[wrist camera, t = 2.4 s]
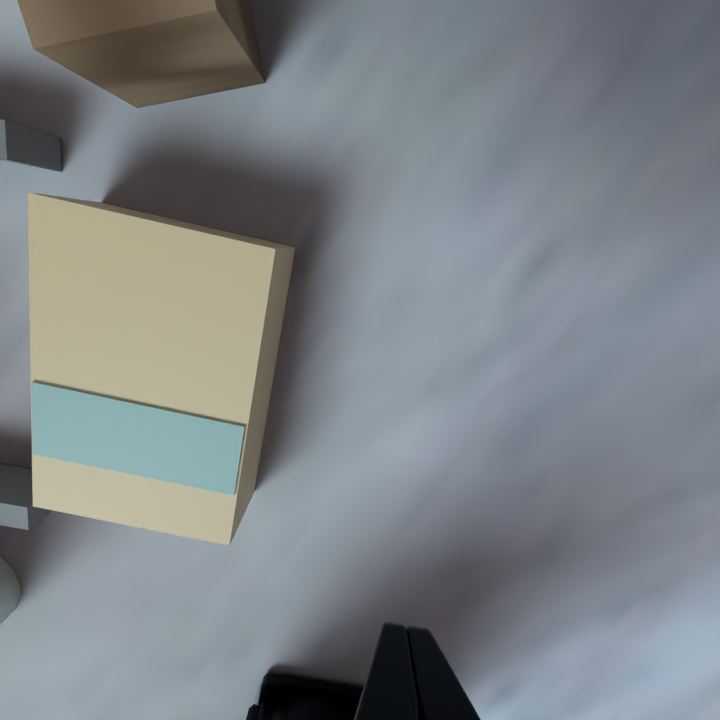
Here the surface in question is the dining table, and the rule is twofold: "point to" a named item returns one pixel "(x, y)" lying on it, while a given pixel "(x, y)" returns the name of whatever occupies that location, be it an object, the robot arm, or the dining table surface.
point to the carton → (149, 365)
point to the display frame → (3, 482)
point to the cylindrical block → (8, 590)
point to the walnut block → (149, 45)
